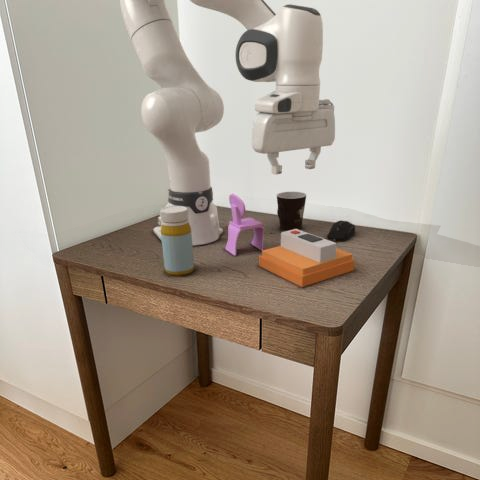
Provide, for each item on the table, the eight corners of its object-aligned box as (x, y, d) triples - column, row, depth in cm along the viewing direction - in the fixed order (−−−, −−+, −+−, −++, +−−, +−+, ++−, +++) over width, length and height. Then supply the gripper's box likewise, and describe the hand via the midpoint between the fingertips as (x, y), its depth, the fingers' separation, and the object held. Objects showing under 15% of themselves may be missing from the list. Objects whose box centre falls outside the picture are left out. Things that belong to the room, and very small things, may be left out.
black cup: (293, 222, 143) (294, 190, 138) (310, 229, 137) (312, 195, 132) (262, 229, 138) (262, 195, 133) (279, 236, 131) (279, 201, 127)
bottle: (166, 266, 113) (159, 206, 106) (194, 265, 113) (189, 204, 106) (164, 277, 107) (157, 214, 100) (194, 275, 107) (189, 212, 100)
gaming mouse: (320, 243, 125) (320, 229, 123) (336, 228, 137) (337, 215, 135) (342, 246, 122) (343, 231, 121) (357, 231, 134) (358, 217, 132)
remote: (280, 246, 112) (280, 231, 110) (295, 242, 114) (296, 227, 112) (320, 263, 101) (320, 246, 100) (335, 258, 104) (336, 241, 102)
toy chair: (266, 251, 121) (266, 193, 114) (236, 257, 117) (234, 198, 110) (252, 242, 127) (251, 187, 120) (223, 247, 124) (220, 191, 117)
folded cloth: (259, 266, 112) (258, 250, 110) (308, 252, 119) (309, 237, 117) (302, 287, 100) (302, 270, 98) (354, 270, 108) (355, 254, 106)
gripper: (324, 98, 100) (319, 163, 107) (247, 102, 90) (247, 174, 97) (345, 99, 96) (338, 167, 102) (266, 104, 86) (265, 179, 92)
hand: (293, 171), depth 100 cm, fingers open, 8 cm apart
